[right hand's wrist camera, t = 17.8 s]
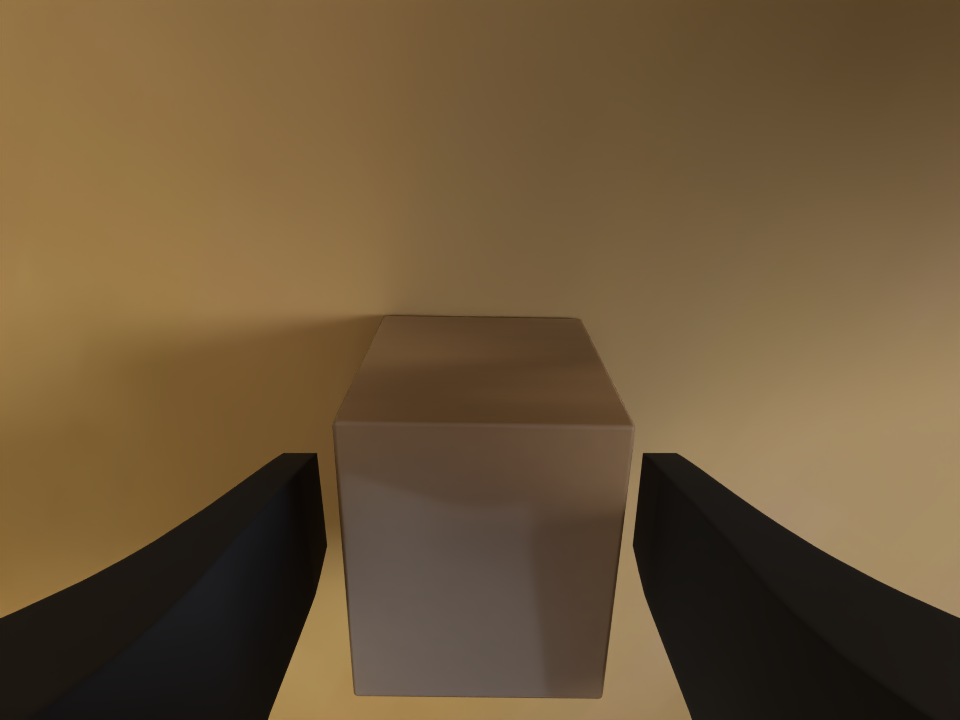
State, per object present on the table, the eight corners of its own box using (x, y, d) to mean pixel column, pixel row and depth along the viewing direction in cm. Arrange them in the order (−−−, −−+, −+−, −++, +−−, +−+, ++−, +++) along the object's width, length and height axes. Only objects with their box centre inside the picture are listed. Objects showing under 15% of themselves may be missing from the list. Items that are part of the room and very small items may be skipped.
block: (581, 317, 13) (636, 426, 8) (565, 521, 15) (602, 700, 10) (383, 314, 13) (331, 422, 8) (392, 519, 15) (353, 697, 10)
